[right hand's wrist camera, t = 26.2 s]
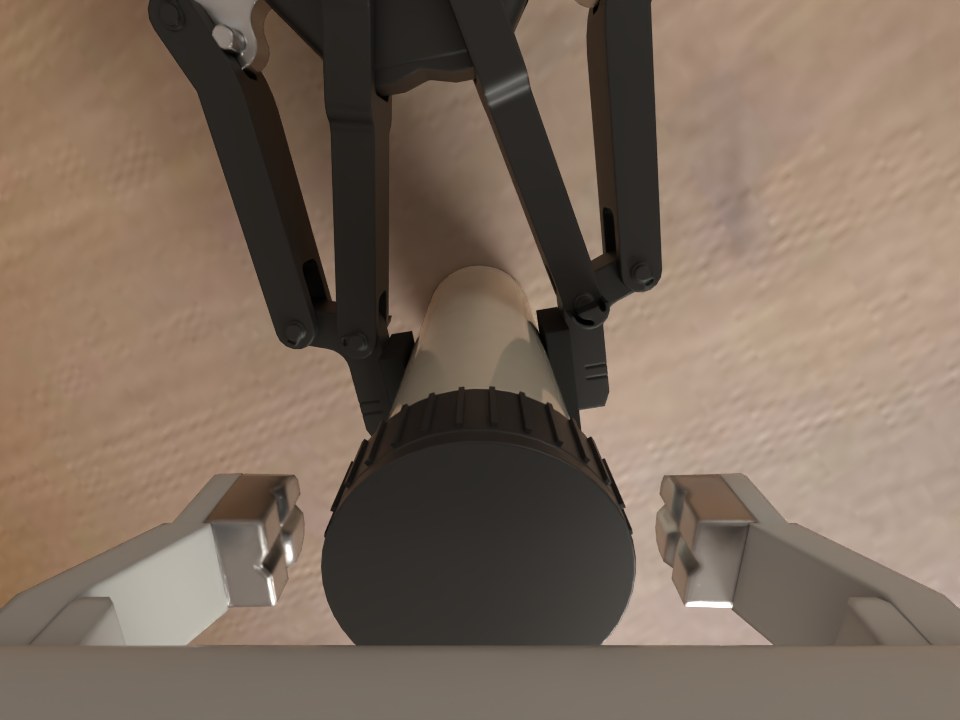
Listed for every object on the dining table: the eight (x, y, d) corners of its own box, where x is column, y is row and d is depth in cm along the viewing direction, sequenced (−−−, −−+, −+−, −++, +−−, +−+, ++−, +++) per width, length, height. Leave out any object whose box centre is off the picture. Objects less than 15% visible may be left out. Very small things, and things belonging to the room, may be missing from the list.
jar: (441, 254, 23) (374, 403, 8) (541, 279, 23) (643, 463, 9) (419, 350, 24) (332, 616, 10) (514, 372, 25) (563, 659, 10)
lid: (442, 328, 9) (432, 370, 7) (667, 478, 10) (710, 548, 8) (297, 531, 11) (258, 610, 9) (507, 644, 12) (512, 736, 10)
